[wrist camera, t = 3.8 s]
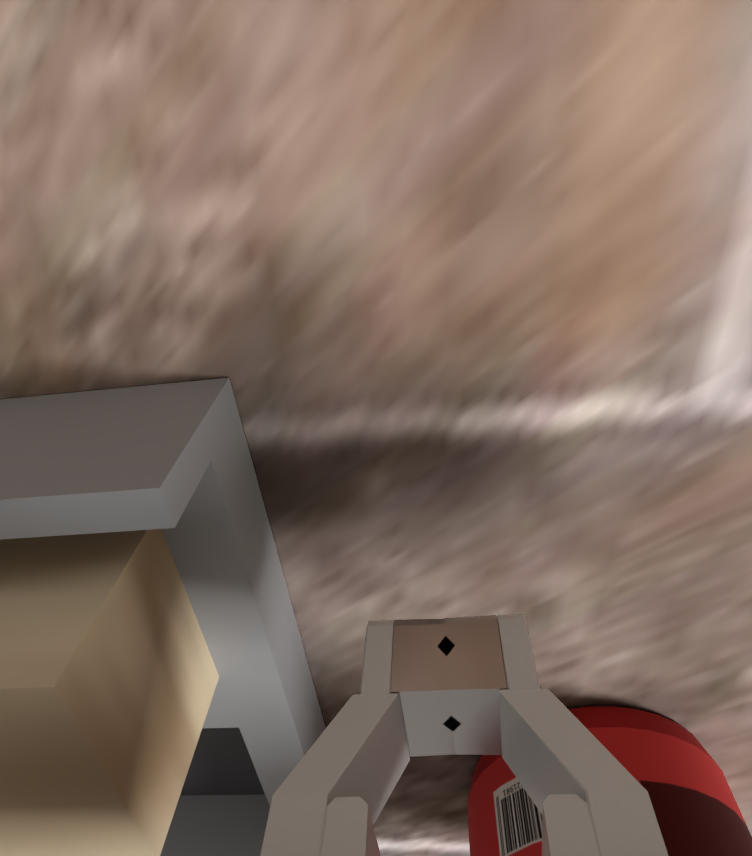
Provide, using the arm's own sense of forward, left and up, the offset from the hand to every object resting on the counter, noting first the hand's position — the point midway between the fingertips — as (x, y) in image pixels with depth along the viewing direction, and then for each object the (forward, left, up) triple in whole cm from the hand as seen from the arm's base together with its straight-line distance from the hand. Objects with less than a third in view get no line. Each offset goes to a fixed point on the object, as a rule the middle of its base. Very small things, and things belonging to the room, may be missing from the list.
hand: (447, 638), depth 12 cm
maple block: (0, -8, -1) cm, 8 cm away
